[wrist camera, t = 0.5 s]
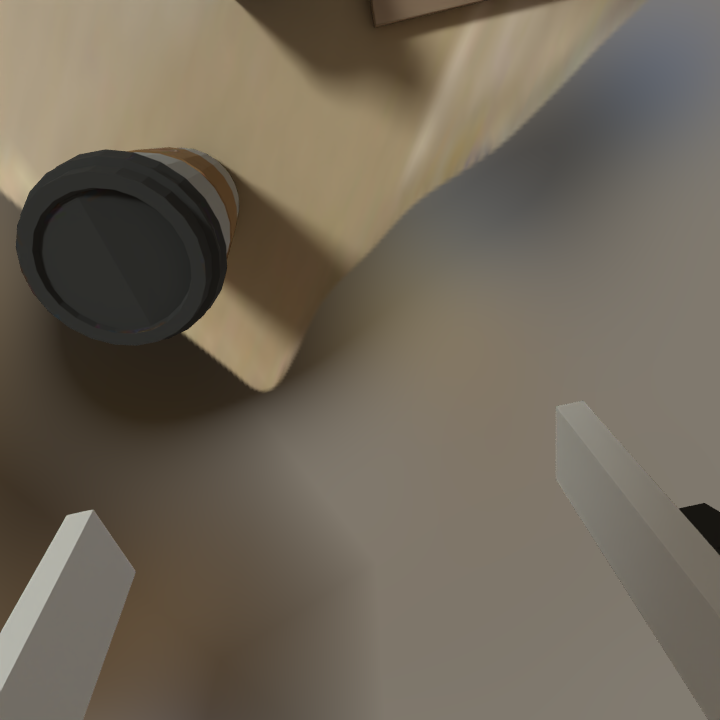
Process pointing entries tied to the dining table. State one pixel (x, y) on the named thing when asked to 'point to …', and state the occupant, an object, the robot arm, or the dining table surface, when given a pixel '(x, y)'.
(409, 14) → the socket board
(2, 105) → the dining table surface
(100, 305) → the coffee cup
